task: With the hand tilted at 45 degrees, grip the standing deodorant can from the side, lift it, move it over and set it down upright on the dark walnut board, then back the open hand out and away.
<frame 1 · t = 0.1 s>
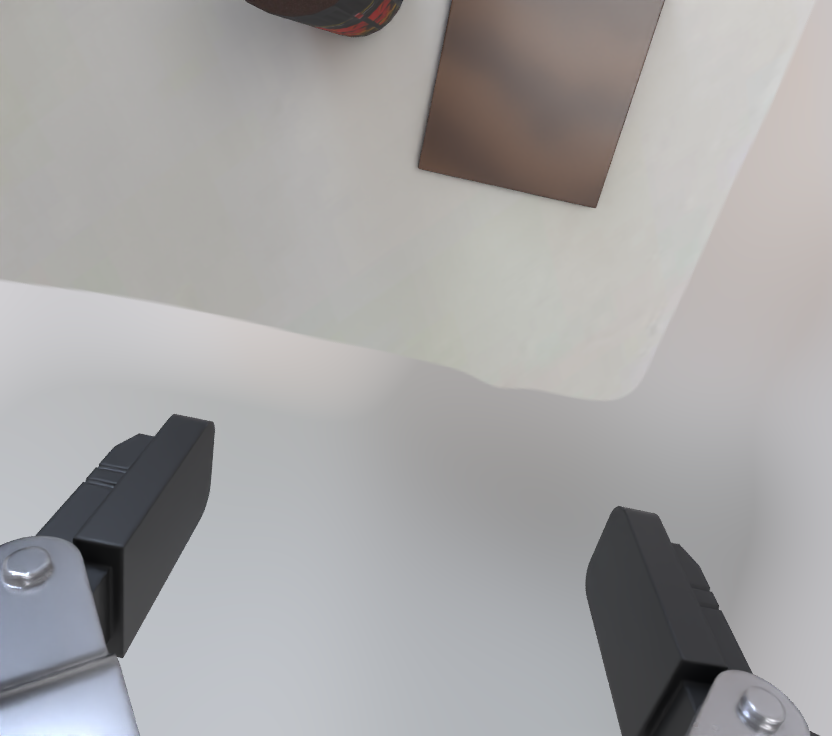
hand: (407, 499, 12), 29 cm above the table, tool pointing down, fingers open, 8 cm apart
walnut board: (534, 80, 35), on the table
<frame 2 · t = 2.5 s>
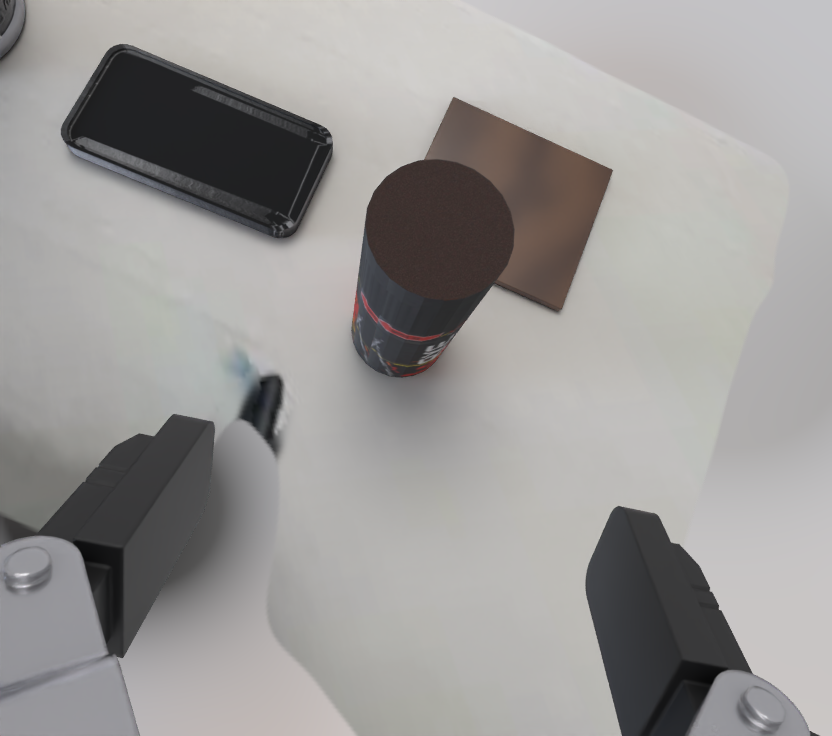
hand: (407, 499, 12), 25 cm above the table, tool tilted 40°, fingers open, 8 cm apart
deodorant: (398, 331, 39), on the table
walnut board: (503, 204, 42), on the table
phone: (205, 146, 40), on the table
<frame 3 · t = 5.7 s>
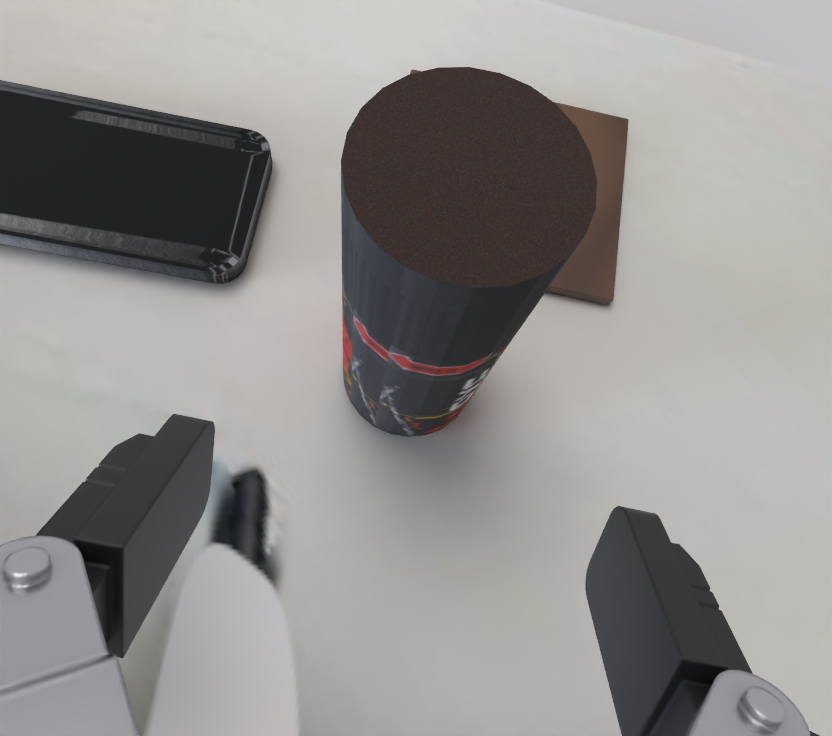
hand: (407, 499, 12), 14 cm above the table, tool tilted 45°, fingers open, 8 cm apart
deodorant: (408, 373, 29), on the table
walnut board: (504, 185, 32), on the table
phone: (103, 186, 30), on the table
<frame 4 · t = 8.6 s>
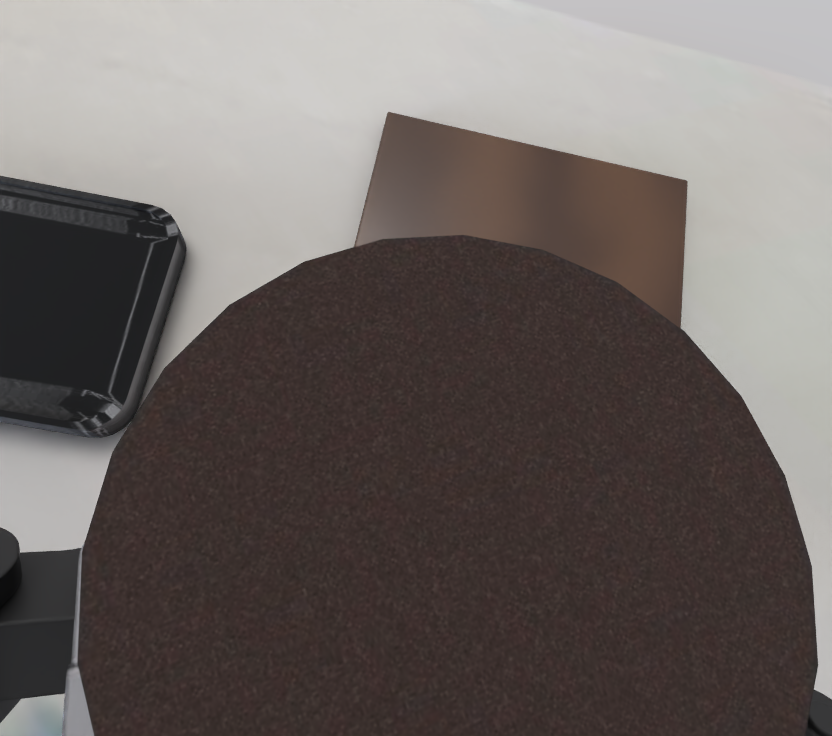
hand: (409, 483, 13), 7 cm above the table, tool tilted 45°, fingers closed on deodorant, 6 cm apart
deodorant: (375, 572, 19), on the table, touching gripper
walnut board: (517, 277, 23), on the table
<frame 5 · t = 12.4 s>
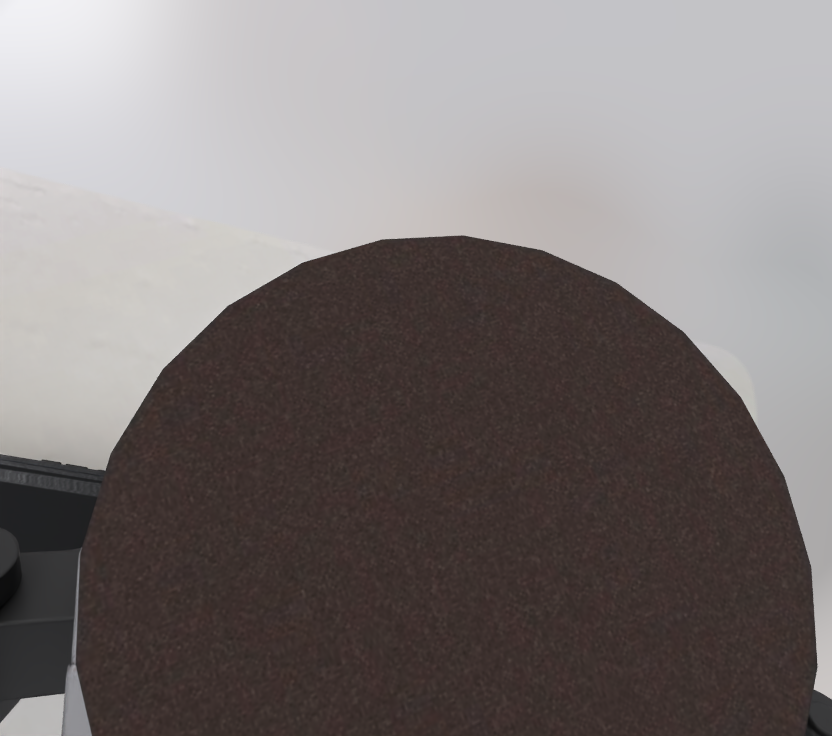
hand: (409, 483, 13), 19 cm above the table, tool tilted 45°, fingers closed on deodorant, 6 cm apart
deodorant: (375, 572, 19), point 11 cm above the table, touching gripper
when the fingers open (8 cm above the table, at t = 16.3 s): deodorant stays where it is, resting on walnut board.
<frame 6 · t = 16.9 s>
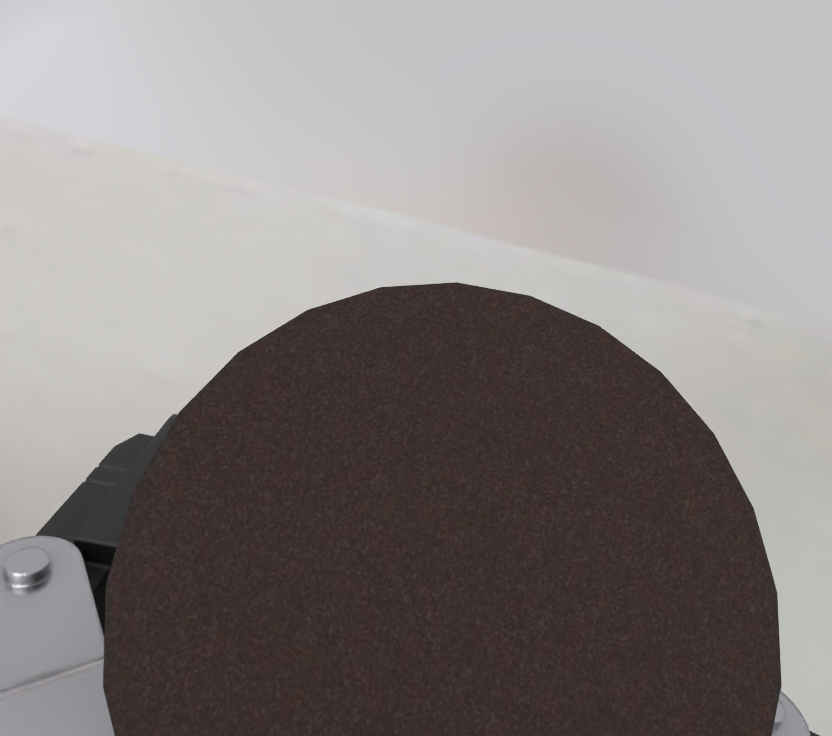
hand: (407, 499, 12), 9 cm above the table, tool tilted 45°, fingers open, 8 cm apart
deodorant: (376, 579, 20), resting on walnut board
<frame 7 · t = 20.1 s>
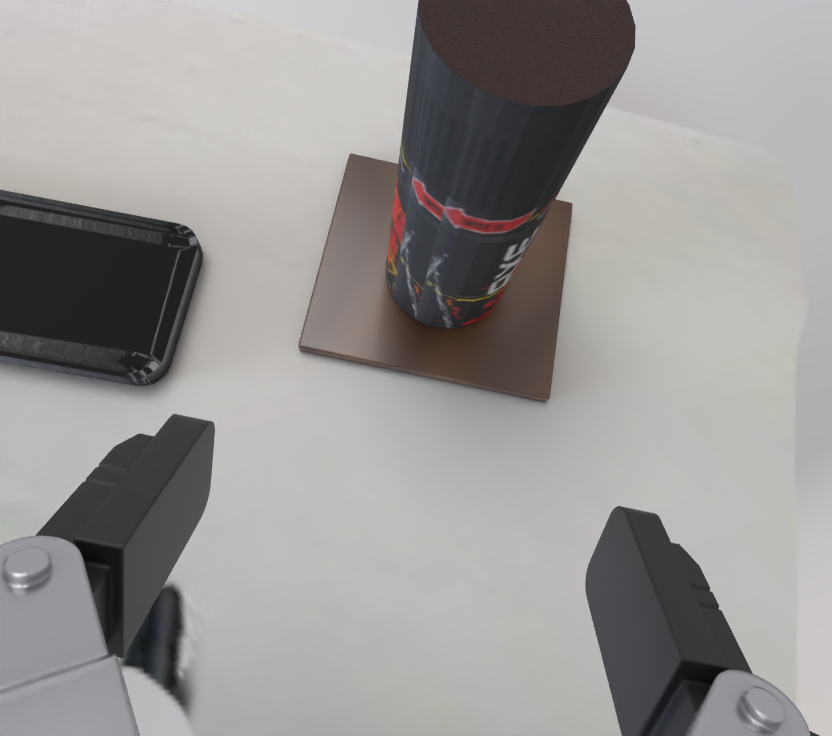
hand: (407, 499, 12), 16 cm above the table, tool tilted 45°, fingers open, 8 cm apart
deodorant: (445, 275, 31), resting on walnut board
walnut board: (442, 275, 32), on the table
phone: (26, 283, 29), on the table
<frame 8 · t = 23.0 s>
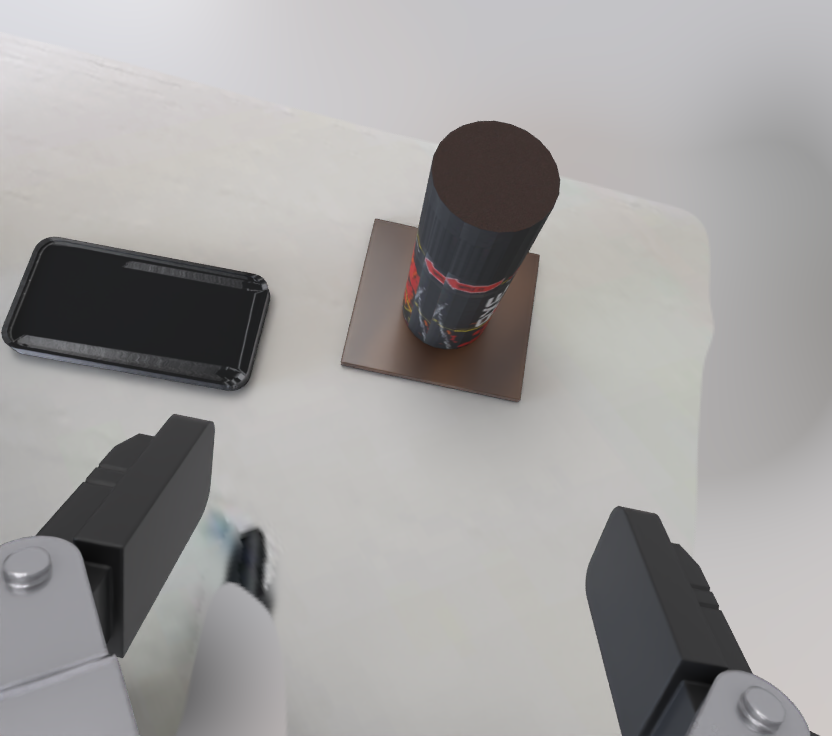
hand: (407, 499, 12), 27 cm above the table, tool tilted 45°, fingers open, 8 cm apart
deodorant: (445, 309, 43), resting on walnut board
walnut board: (443, 309, 43), on the table
phone: (145, 316, 41), on the table
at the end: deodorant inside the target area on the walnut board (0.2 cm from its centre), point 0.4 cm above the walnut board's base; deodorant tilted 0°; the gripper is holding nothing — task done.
